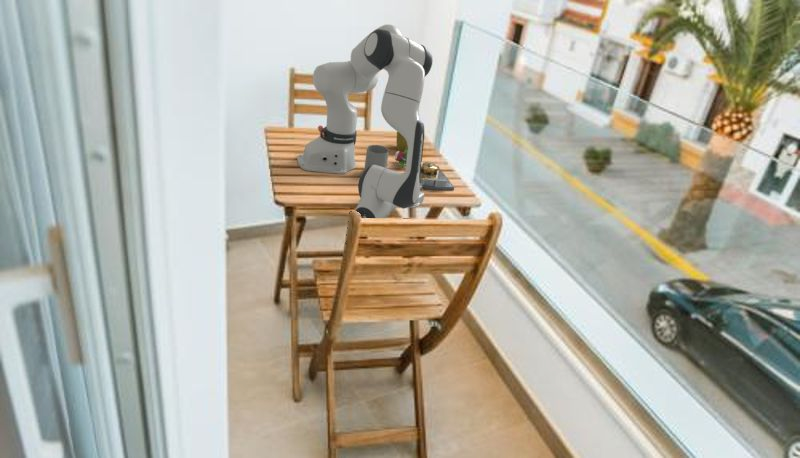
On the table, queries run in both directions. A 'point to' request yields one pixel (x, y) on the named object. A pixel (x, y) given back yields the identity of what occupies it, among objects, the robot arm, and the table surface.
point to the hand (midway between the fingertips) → (402, 183)
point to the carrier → (435, 181)
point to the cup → (376, 156)
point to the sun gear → (429, 168)
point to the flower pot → (401, 142)
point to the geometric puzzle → (401, 157)
